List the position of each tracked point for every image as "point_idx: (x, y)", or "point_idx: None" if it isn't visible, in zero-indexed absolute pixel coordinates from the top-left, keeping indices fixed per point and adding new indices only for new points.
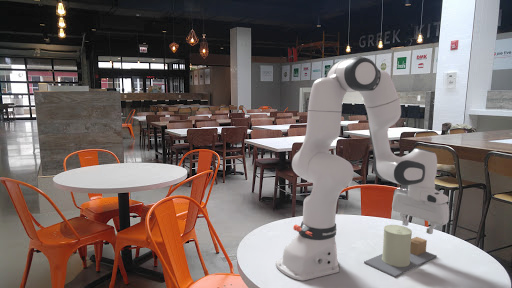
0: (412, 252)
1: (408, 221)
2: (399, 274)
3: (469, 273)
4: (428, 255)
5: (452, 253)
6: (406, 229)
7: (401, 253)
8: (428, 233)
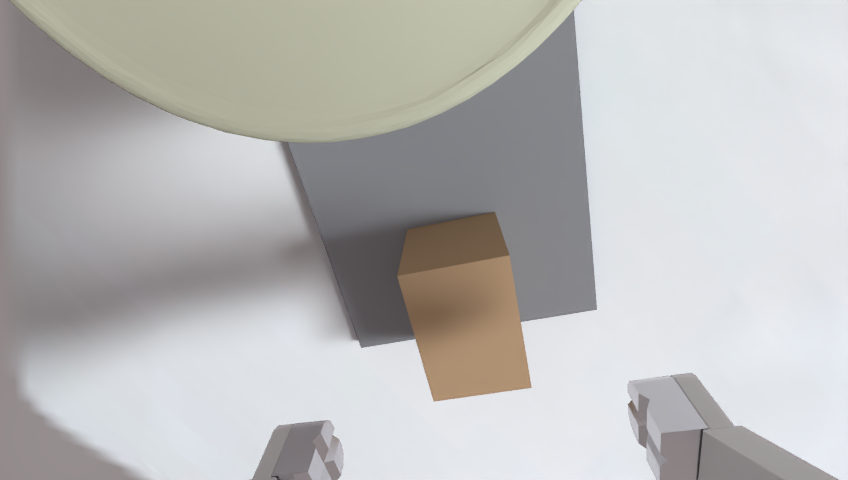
0: (446, 224)
1: (656, 473)
2: None
3: (132, 333)
4: (377, 301)
5: (371, 448)
6: (220, 24)
7: None
8: (307, 423)
